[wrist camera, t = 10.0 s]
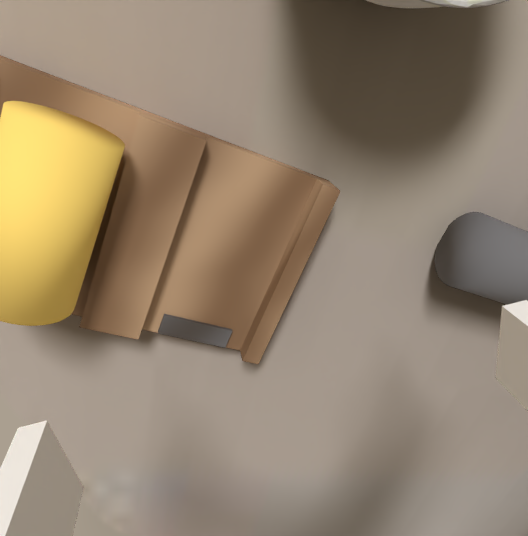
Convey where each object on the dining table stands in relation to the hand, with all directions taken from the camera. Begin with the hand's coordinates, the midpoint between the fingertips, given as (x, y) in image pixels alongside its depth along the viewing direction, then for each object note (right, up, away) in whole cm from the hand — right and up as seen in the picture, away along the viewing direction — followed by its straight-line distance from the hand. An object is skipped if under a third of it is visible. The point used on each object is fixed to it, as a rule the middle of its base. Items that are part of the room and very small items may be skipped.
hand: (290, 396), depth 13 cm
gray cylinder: (+14, +4, +13) cm, 20 cm away
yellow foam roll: (-10, +6, +6) cm, 13 cm away
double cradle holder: (-7, +6, +10) cm, 14 cm away
